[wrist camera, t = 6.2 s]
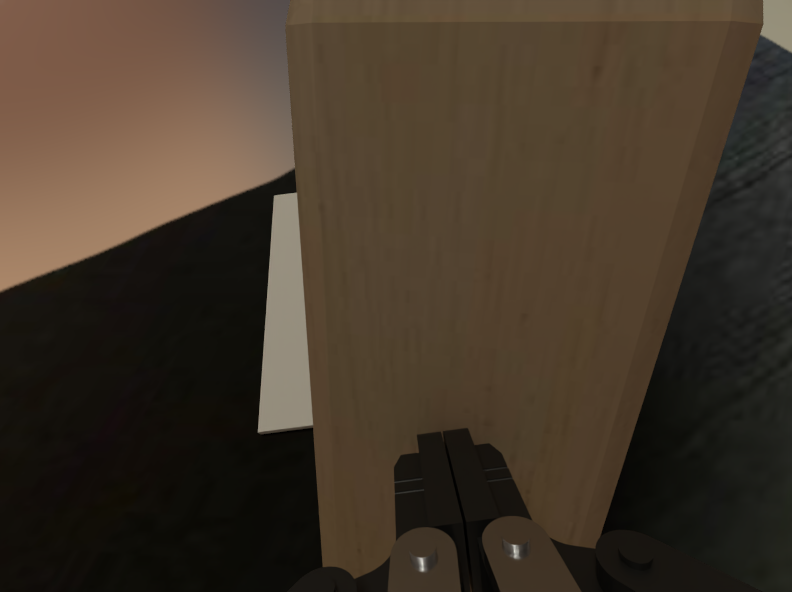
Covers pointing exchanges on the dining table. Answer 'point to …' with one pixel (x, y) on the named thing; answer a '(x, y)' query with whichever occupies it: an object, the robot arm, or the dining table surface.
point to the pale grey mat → (285, 329)
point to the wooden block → (497, 233)
